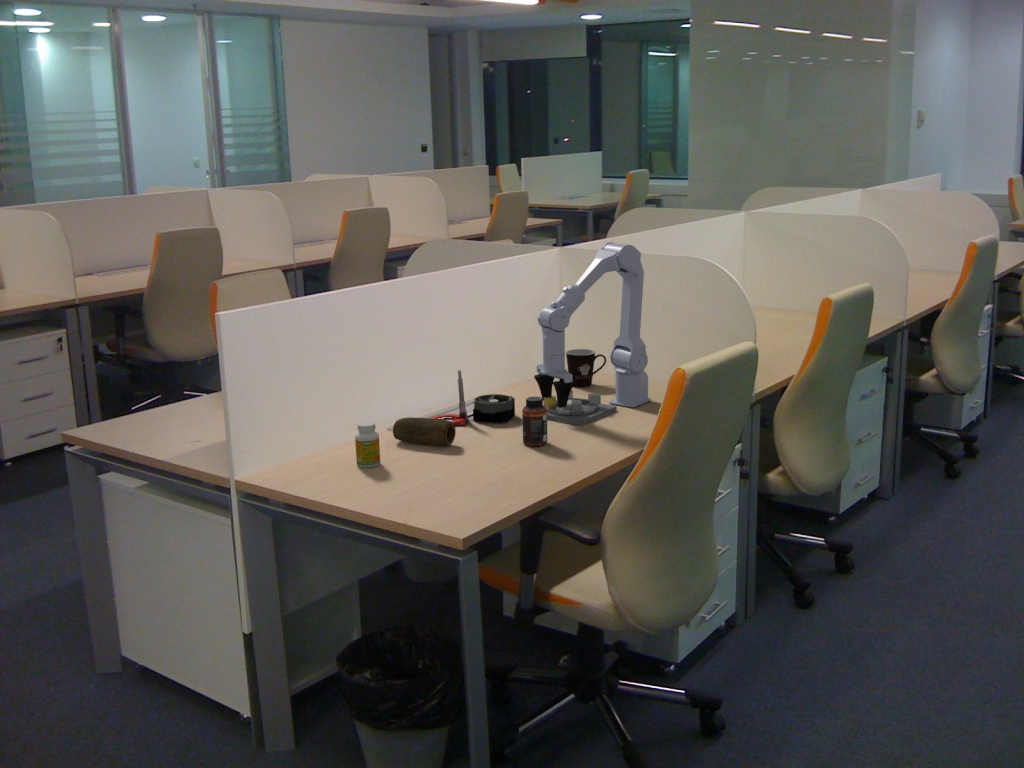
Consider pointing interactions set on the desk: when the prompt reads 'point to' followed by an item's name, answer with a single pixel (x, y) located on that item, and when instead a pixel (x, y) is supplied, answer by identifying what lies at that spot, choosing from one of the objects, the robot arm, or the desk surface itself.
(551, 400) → the ring nut
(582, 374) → the coffee mug
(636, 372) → the robot arm
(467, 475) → the desk surface
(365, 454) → the supplement bottle
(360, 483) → the desk surface
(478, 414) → the cpu cooler
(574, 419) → the cap plate
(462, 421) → the tow hook
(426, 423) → the brown hollow cylinder
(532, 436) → the supplement bottle
